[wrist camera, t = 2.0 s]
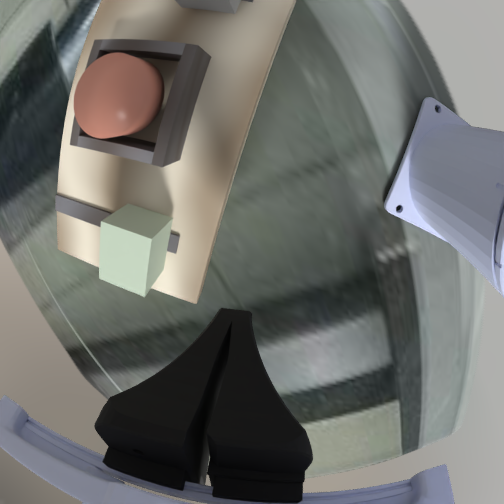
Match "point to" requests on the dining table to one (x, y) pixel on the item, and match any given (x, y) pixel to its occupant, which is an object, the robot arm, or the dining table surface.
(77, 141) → the control board
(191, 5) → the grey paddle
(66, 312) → the dining table surface
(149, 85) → the pink round button
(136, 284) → the pale green block
